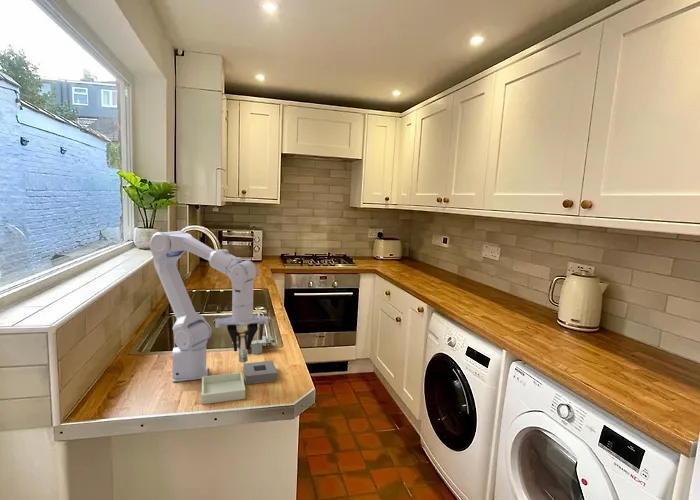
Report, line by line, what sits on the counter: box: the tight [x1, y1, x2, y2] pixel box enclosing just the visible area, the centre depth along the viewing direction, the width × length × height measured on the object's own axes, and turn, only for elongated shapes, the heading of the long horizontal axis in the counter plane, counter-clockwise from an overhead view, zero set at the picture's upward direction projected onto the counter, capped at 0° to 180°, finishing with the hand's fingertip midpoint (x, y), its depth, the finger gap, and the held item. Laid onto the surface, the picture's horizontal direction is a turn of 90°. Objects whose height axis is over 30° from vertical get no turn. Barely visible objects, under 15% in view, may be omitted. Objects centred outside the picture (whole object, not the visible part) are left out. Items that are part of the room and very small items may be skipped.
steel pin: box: [237, 329, 249, 364], centre depth 108 cm, size 3×3×9 cm
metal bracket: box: [231, 335, 274, 355], centre depth 137 cm, size 14×6×15 cm
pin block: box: [242, 360, 278, 385], centre depth 114 cm, size 9×9×2 cm
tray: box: [200, 371, 246, 405], centre depth 104 cm, size 11×11×2 cm
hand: (241, 349), depth 108 cm, fingers closed on steel pin, 3 cm apart
